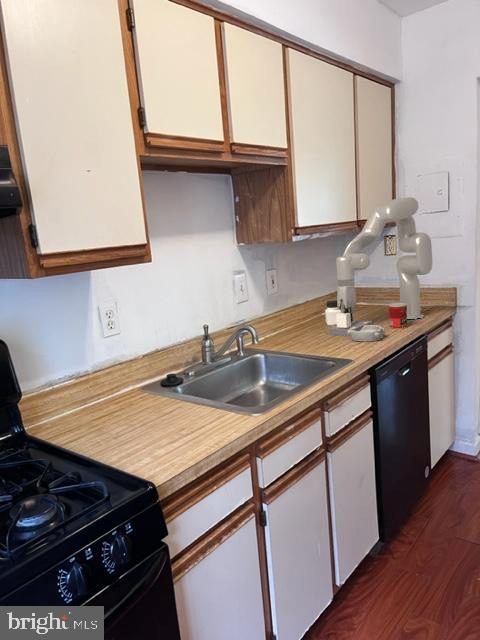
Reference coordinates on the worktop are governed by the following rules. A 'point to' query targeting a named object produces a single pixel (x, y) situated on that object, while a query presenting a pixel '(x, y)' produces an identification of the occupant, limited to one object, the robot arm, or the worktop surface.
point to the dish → (367, 333)
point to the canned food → (398, 315)
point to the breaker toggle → (343, 320)
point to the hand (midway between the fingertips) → (348, 321)
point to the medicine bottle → (332, 312)
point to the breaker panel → (355, 325)
